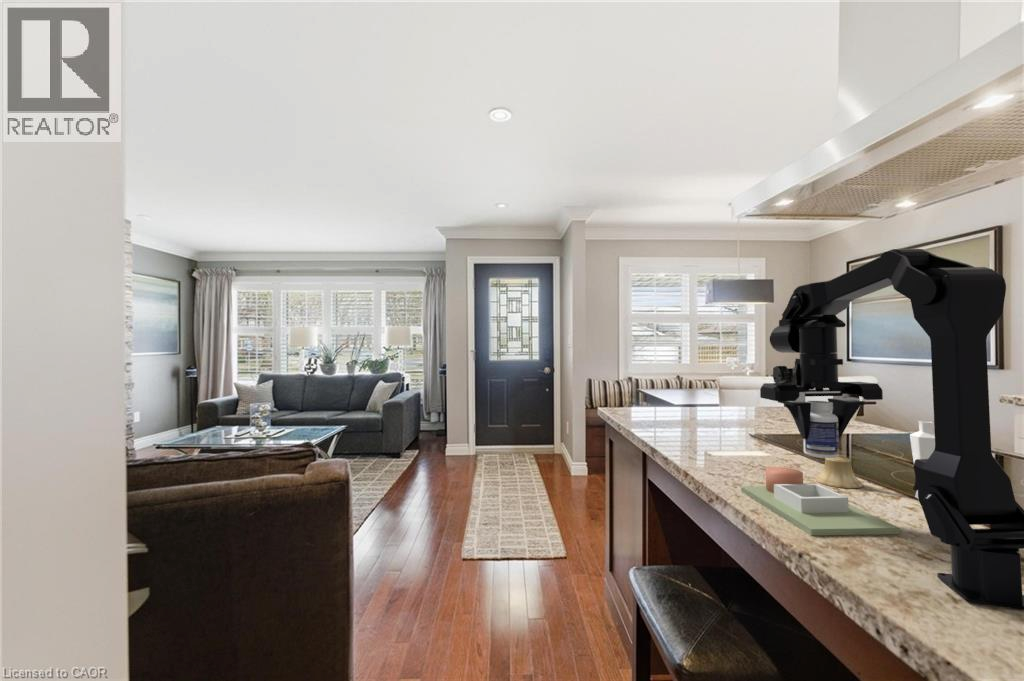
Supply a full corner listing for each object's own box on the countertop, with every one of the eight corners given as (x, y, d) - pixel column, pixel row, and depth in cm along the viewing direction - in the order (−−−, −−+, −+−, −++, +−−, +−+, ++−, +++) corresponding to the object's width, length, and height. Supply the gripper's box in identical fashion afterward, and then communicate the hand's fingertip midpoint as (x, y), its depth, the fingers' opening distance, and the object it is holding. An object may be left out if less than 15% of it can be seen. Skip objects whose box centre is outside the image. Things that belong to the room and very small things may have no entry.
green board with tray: (900, 534, 70) (898, 502, 70) (811, 535, 70) (810, 503, 70) (808, 490, 92) (807, 466, 92) (741, 491, 92) (740, 467, 92)
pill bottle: (845, 459, 77) (843, 403, 78) (811, 458, 79) (809, 403, 79) (830, 452, 83) (829, 400, 83) (798, 451, 84) (797, 399, 84)
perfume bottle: (907, 497, 86) (903, 420, 87) (920, 494, 88) (917, 419, 88) (936, 505, 82) (932, 424, 83) (950, 501, 84) (946, 422, 84)
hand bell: (807, 477, 101) (805, 407, 101) (844, 477, 100) (842, 407, 101) (832, 489, 93) (829, 412, 93) (873, 488, 92) (870, 412, 93)
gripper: (839, 351, 89) (841, 429, 88) (744, 353, 89) (746, 431, 89) (883, 352, 77) (886, 441, 77) (775, 354, 78) (778, 442, 78)
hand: (820, 438), depth 81 cm, fingers closed on pill bottle, 5 cm apart
